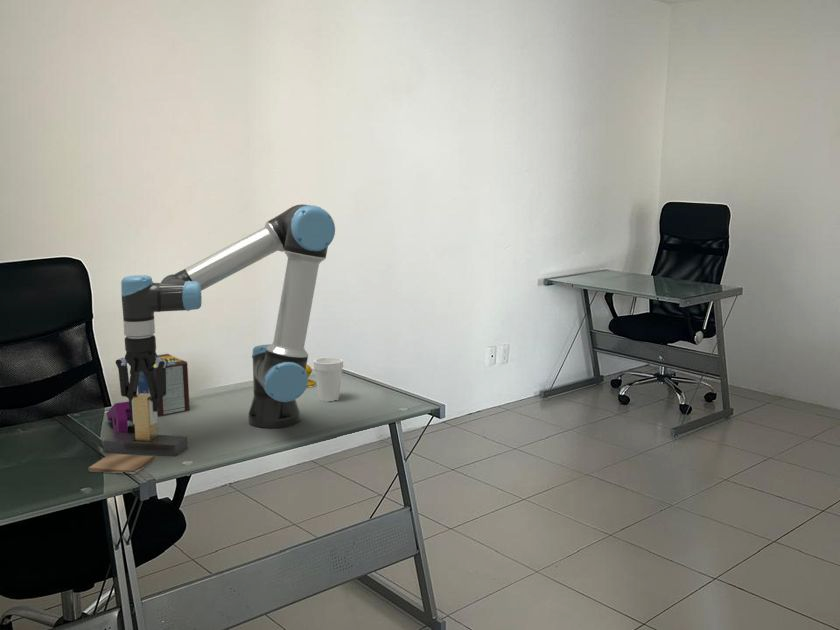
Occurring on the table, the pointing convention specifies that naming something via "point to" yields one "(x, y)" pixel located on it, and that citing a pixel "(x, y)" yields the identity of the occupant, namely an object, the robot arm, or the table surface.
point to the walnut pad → (121, 463)
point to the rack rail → (145, 444)
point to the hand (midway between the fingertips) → (145, 422)
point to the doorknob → (308, 371)
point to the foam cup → (328, 377)
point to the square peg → (143, 419)
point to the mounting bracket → (120, 416)
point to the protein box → (170, 386)
